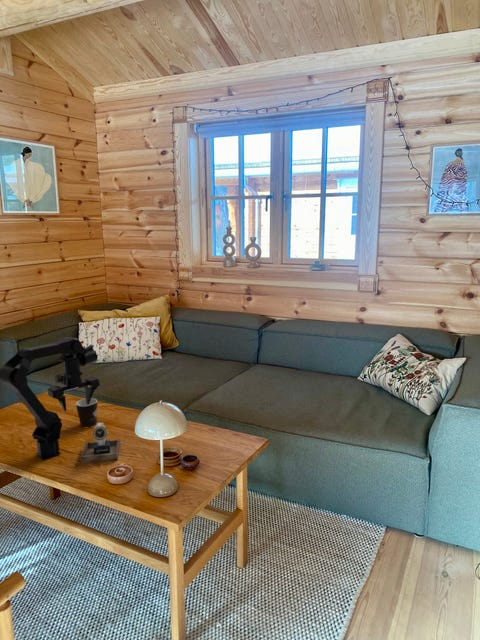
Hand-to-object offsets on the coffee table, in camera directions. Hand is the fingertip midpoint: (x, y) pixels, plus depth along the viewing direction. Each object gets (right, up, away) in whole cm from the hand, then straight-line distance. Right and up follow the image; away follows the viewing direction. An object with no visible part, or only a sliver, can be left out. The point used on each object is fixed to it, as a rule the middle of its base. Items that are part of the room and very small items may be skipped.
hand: (76, 407), depth 182 cm
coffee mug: (+1, -10, +17) cm, 19 cm away
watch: (+13, -15, -10) cm, 22 cm away
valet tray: (+13, -15, -10) cm, 22 cm away
